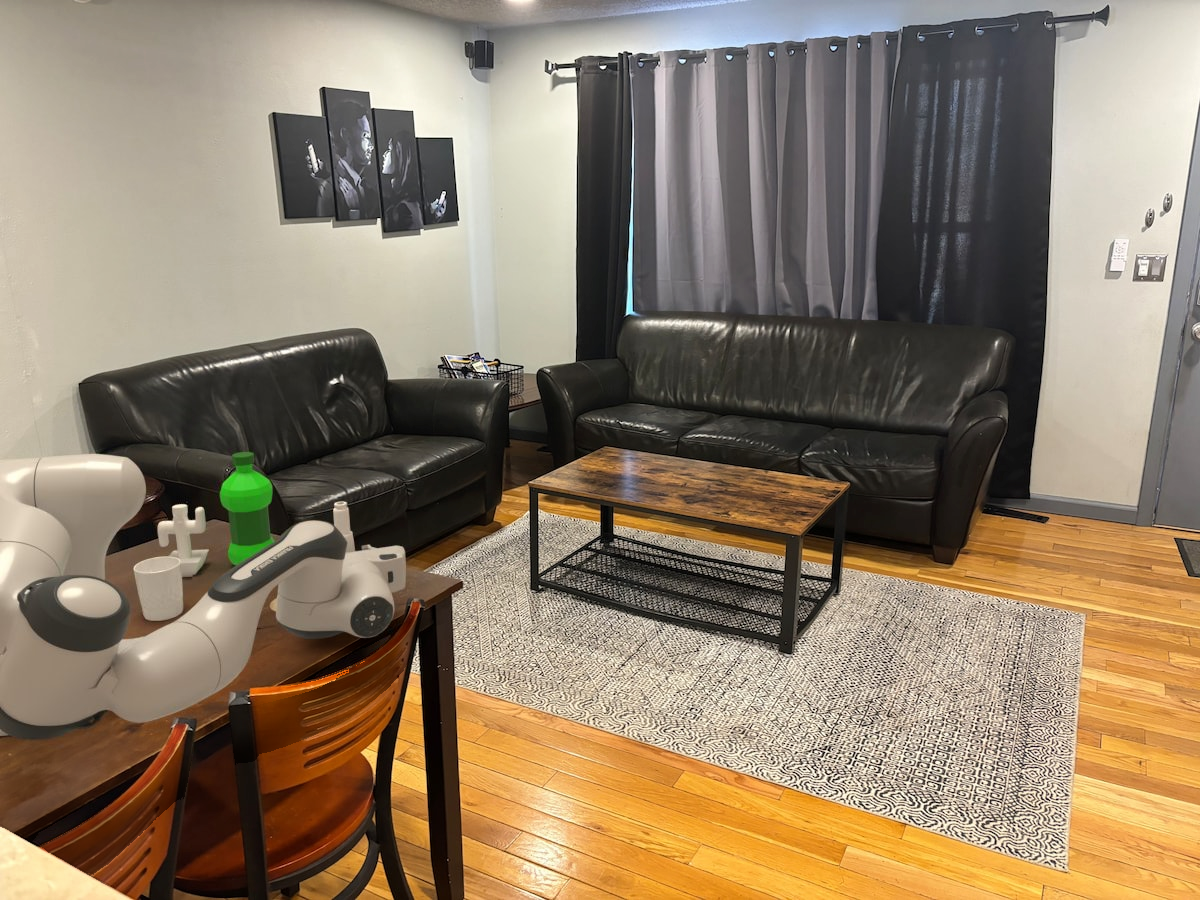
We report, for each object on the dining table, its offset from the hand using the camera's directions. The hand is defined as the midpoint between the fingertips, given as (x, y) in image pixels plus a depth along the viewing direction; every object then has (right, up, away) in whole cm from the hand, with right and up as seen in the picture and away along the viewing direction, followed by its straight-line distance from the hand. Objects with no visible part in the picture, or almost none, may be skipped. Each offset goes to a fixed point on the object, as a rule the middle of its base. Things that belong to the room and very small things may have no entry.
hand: (343, 551), depth 162 cm
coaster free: (-11, -11, +5) cm, 16 cm away
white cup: (-34, -12, +1) cm, 36 cm away
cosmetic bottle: (0, -12, +3) cm, 12 cm away
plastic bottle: (-26, -6, +23) cm, 35 cm away
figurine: (-39, -7, +19) cm, 44 cm away
